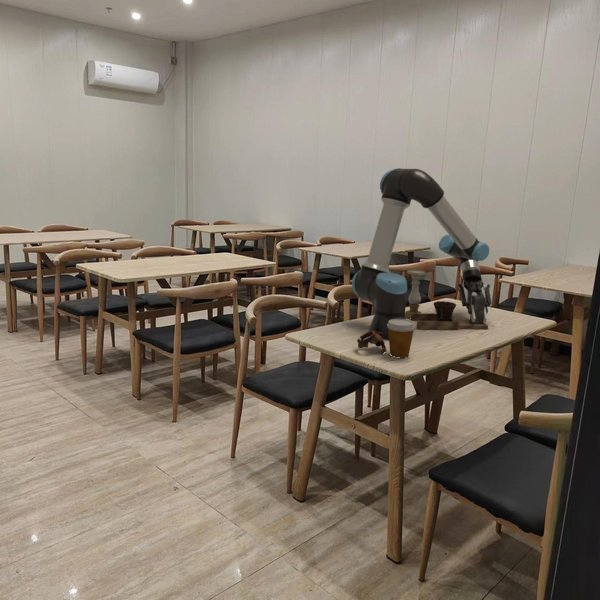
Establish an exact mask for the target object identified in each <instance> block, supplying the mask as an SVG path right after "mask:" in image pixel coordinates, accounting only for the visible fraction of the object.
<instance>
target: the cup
mask: <svg viewBox="0 0 600 600" xmlns="http://www.w3.org/2000/svg"><path fill="white" fill-rule="evenodd" d="M433 306H434V310H435V313H436V314H437V321H439V322H450V319H451V316H452V317H453V313H454V310H455V308H457V307H456V306H457V304H456V303H455V302H452V301H445V300H443V301H440V300H439V301H434V302H433Z"/></svg>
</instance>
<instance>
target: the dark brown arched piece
mask: <svg viewBox="0 0 600 600" xmlns="http://www.w3.org/2000/svg"><path fill="white" fill-rule="evenodd" d="M356 343H357V348H358V349H360V348H362V349H363V348H366V349H369V344H371V345H375V346H376V347H381V349H380V351H381V353H384V352H386V353H387V351H388V350H387V348H386V344H385V341H384V339H383V334H382V332H380V331H378V332H376V333H375V331H367V332H364V333H363V334H361V335H360V336H359V338H358V339H357V340H356Z"/></svg>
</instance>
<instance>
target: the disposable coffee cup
mask: <svg viewBox="0 0 600 600" xmlns="http://www.w3.org/2000/svg"><path fill="white" fill-rule="evenodd" d="M387 326H388V332H389V340H388V343H389V345H388V346H389V355H390V354H391V355H392V356H395V357H400V358H399V359H401V358H402V359H406V358H405V357H407V358H409V357H410V351H411V345H412V341H413V336H414V331H415V328H416V325H415V322H414V320H410V319H407V318H406V319H392V320H389V322H388V324H387ZM392 356H391V357H392Z"/></svg>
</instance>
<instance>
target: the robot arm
mask: <svg viewBox="0 0 600 600" xmlns="http://www.w3.org/2000/svg"><path fill="white" fill-rule="evenodd" d="M379 189H380V193H381V198H380V199H381V202H382V204H383V206H382V209H381V212H380V214H379V219H378V222H377V227H376V230H375V232H374V236H373V239H372V242H371V247H370V250H369V254H368V257H367V260H366V261H365V262H364V263H362V265H361V268H360V270H358V271H357V272H356V273H355V274H354V275H353V277H352V279H351V288H352V291H353V293H354V294H355V296H356V297H358V298H360V299H362V300H363V301H367V302H371V303H373V304H374V314H373V317H372V320H371V323H370V326H369V328H368V330H369V331H375V333H376V332H378V331H380V332H382V334H383V340H386V339H389V332H388V326H387V324H388V322H389V320H392V319H406V320H407V318H406V317H405V313H406V307H407V296H408V295H407V293H408V281H407V278H406V277H404V276H403V275H401V274H398V273H393V272H391V271H390V269H389V268H388V267H389V263H390V260H391V257H392V253H393V249H394V246H395V244H396V243H395V242H396V240H397V236H398V233H399V229H400V226H401V223H402V219H403V216H404V212H405V210H406V209H408V208H409V207H410V205H411V202H412V201H416V202H417V203H419V204H420V205H421V206H422V208H423V209H427V210H428V211H429V212H430V213H431V214H432V216H433V217H434V218H435V220H437V222H438V223H439V224H440V225H441V226H442V228H443V229H444V230H445V232H446V233H447V234H445V235H443V236H442V237H441V238H440V240H439V242H438V249H439V250H440V251H442V252H443V253H444V254H447V255H449V256H451V257H452V258H455V259H456V260H457V261H458V260H459V264H460V270H461V275H462V281H463V283H462V284H461V283H458V285H457V290H458V291H459V296H460V302H461V306H462V307H466V309H467V313H468V315H470V314H471V319H472V322H474V321H475V319H476V318H475V312H474V306H473V305H471V302H472V295H473V293H475V294H476V295H481V296H483V297H485V298H486V300H485V310H484V320H483V322H484V323H486V322H487V321H488V316H487V314H488V313H489V310H488V308H490V307H491V304H492V299H491V293H490V287H491V284H490V283H487V284H486V283H485V284H484V282H483V280H482V274H481V270H480V269H481V268H480V264H479V263H480V262H483V261H485V260H486V259H487V258H488V257H489V255H490V247H489V245H488V244H487V243H485V242H483V241H480V240H478V238H477V237H476V236H475V234H474V233H473V232H472V231H471V229H470V228H469V227H468V225H467V224H466V223H465V222H464V220H463V219H462V218H461V216H460V215H459V214H458V212H457V211H456V210H455V209H454V207H453V206H452V205H451V203H450V202H449V201H448V199H447V198H446V196H445V191H444V190H443V188H442V187H441V186H440V184H439V183H438V182H437V181H436V180H435V179H434V178H433V177H432V176H431V175H430V174H429V173H428V172H426V171H425V170H421V169H420V168H400V167H399V168H397V167H396V168H393V169H390V170H388V171H387V172H385V173H384V174H383V175H382V177H381V179H380V182H379ZM482 288H483V290H484V294H483V290H482ZM465 289H466V290H467V296H466V293H465ZM466 297H467V298H466ZM369 331H368V332H369Z"/></svg>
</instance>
